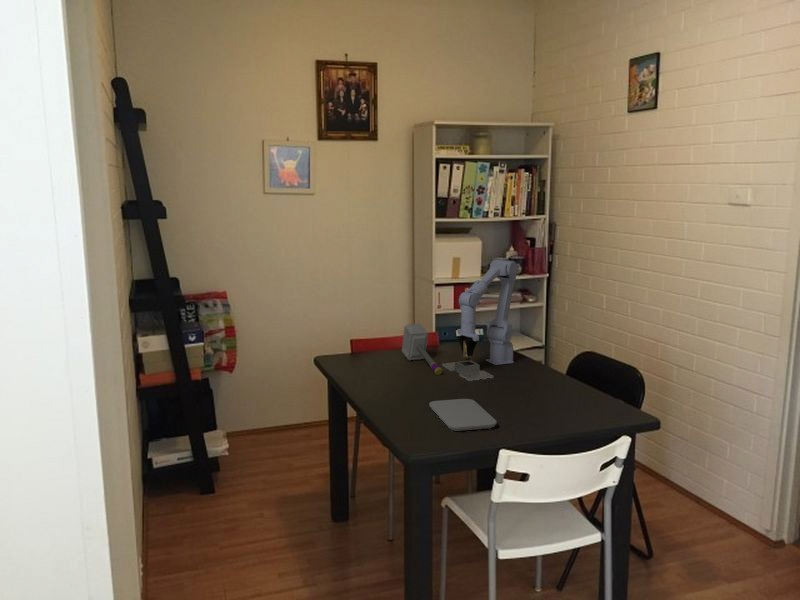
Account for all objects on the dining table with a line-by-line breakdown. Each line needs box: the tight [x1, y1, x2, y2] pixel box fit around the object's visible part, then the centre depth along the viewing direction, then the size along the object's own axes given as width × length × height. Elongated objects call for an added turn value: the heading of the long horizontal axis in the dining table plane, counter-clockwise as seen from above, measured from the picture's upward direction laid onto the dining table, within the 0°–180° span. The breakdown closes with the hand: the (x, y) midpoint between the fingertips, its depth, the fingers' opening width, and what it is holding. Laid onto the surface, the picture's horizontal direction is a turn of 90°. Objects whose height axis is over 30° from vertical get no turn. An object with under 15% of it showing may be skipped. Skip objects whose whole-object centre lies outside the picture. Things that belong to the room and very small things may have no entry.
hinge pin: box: [462, 340, 473, 361], centre depth 278 cm, size 4×4×8 cm
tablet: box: [429, 398, 497, 431], centre depth 226 cm, size 16×26×2 cm, turn 14°
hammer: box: [401, 322, 443, 376], centre depth 287 cm, size 15×8×30 cm
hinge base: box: [441, 360, 494, 382], centre depth 279 cm, size 11×23×4 cm, turn 23°
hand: (467, 354), depth 278 cm, fingers closed on hinge pin, 4 cm apart
